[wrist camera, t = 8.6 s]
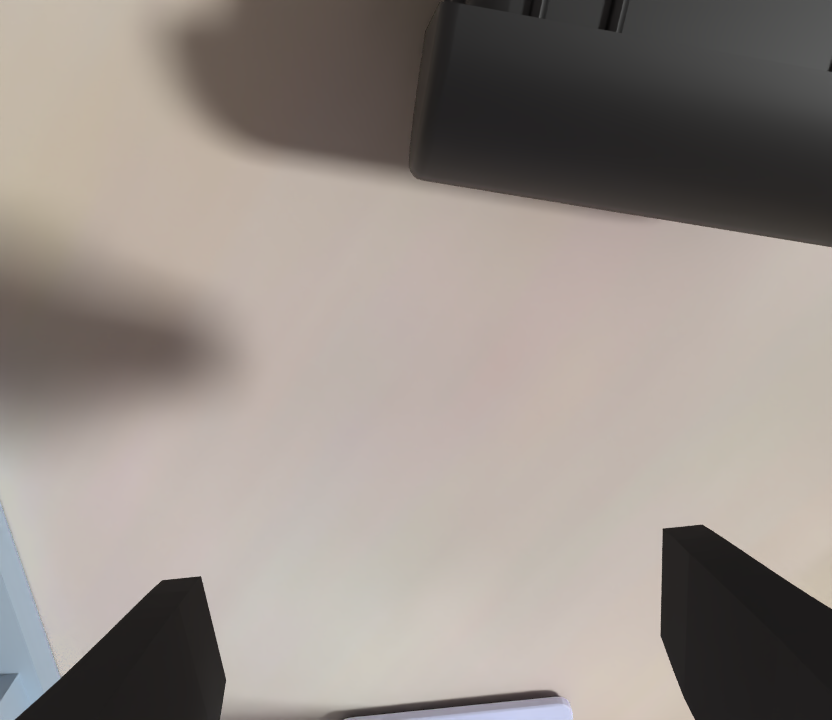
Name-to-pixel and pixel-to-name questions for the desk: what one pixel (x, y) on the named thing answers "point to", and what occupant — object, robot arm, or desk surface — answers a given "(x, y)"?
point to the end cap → (636, 108)
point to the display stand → (20, 636)
